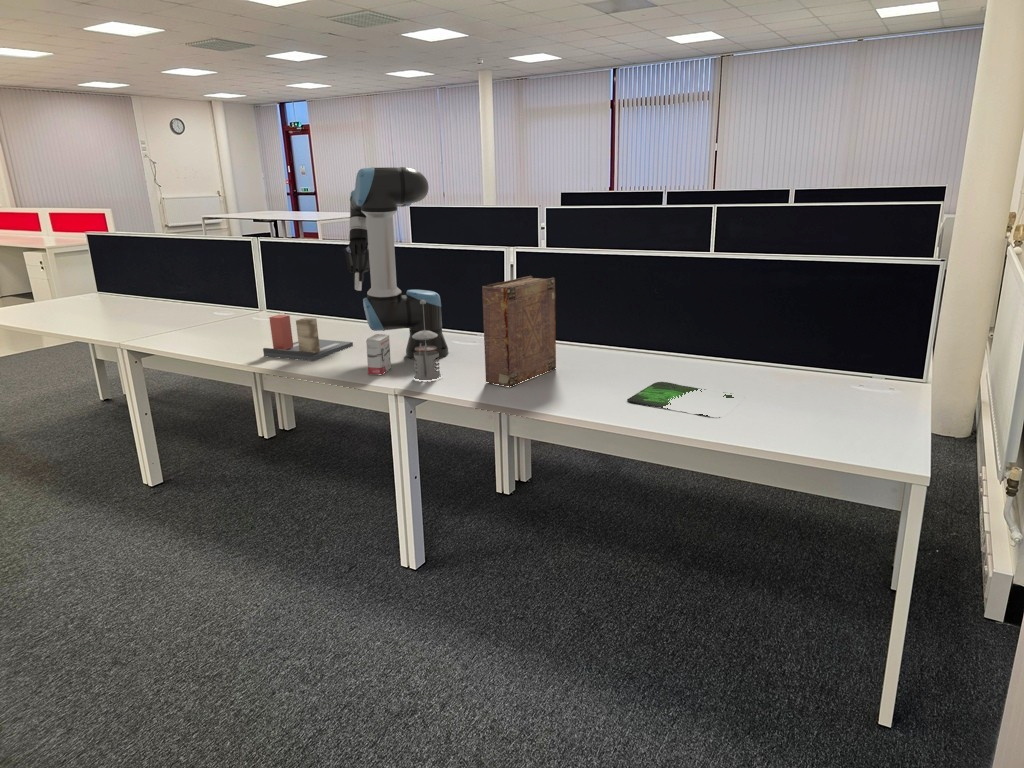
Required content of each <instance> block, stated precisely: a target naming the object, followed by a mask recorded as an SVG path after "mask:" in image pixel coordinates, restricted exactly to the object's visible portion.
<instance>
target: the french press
mask: <svg viewBox="0 0 1024 768" xmlns="http://www.w3.org/2000/svg"><path fill="white" fill-rule="evenodd" d="M420 304H426V301H425V300H421V301H420ZM423 316H424V305H423ZM437 336H438V334H436V333H434V332H432V331H426V330H425V321H424V330H423V331H419V332H417V333H415V334H414V335H413V336H412V338H413V339H416V340H425V346H421V343H420V346H419V347H416V348H415V351H417V352H415V353H414V358H415V359H413V361H414V363H413V364H414V376H413V377H414V378H415V379H419V380H432V379H437V378H439V377H441V375H442V374H441V372H440V358H438V357H439V353H438V351H435V350H436V349H437V347H436V346H427V344H426V340H429V339H433V338H436V337H437ZM435 358H437V359H435Z"/></svg>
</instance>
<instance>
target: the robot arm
mask: <svg viewBox="0 0 1024 768" xmlns="http://www.w3.org/2000/svg"><path fill="white" fill-rule="evenodd" d="M429 187H430V186H429V182H428V180H427V178H426V176H425V175H424V174H423V173H422V172H420V171H418V170H417V169H415V168H410V167H407V166H405V167H404V166H400V167H397V166H396V167H394V166H393V167H392V166H391V167H389V166H388V167H385V166H384V167H374V166H372V167H366V168H365V167H364V168H363V167H362V168H360V169H359V170H358V171H357V173H356V177H355V185H354V189H353V190H351V192H350V196H349V236H348V237H349V243H348V246H347V247H344V248H342V251H343V253H344V255H345V259H346V264H347V265H346V266H347V270H348V272H350V273H353V274H352V280H353V282H354V290H356V291H357V292H359V291H360V292H361V291H362V288H363V287H362V286H363V282H364V281H365V280H364V279H365V273H368V272H369V271H370V272H369V274H370V275H369V276H370V288H369V289H368V291H367V293H366V295H367V297H364V298H363V299H362V301H363V302H362V304H363V309H364V313H365V318H366V322H367V325H368V327H369V328H370V330H372V331H374V332H375V331H376V332H380V331H383V332H385V331H391V330H392V331H393V330H401V329H403V330H404V329H409V337H408V341H407V345H406V347H405V348H406V349H405V356H406V357H407V358H408V357H409V359H411V358H414V353H415V352H417V351H415V348H416V347H419V346H420V343H421V346H425V340H416V339H413V338H412V336H413V335H414V334H415V333H417V332H419V331H423V330H424V321H425V330H426V331H432V332H434V333H436V334H438V336H437V337H436V338H433V339H429V340H426V344H427V346H436V347H437V349H436V350H435V351H438V353H439V357H438V358H437V359H441V358H444V357H446V356H448V355H449V347H448V344H447V341H446V339H445V336H444V334H443V322H442V321H443V320H442V302H441V296H440V294H439V293H437V292H435V291H433V290H426V289H407V290H406V294H402V293H403V292H402V290H401V289H400V288H399V287H398V285H397V269H396V254H395V253H396V252H395V232H394V215H395V214H396V213H397V211H398V208H399V207H401V208H404V207H410V206H411V205H412V204H414V203H418V202H420V201H421V202H422V200H425V198H426V197H427V195H428V193H429V189H430V188H429ZM351 253H352V254H351ZM421 300H425V301H426V304H420V301H421ZM423 305H424V316H423ZM447 354H448V355H447ZM443 356H444V357H443ZM440 357H441V358H440ZM414 359H415V358H414ZM414 359H413V360H414ZM415 360H416V359H415Z"/></svg>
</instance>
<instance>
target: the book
mask: <svg viewBox="0 0 1024 768" xmlns="http://www.w3.org/2000/svg"><path fill="white" fill-rule="evenodd" d="M481 290H482V291H481V293H482V314H483V317H482V319H483V337H484V338H483V339H484V342H483V343H484V344H483V345H484V366H485V368H484V369H485V370H484V371H485V372H484V373H485V383H486V382H489V383H494V384H499V385H504V386H509V387H510V386H513V385H515V384H518V383H520V382H522V381H525V380H527V379H530V378H532V377H535V376H537V375H540V374H543V373H545V372H547V371H550V370H553V369H555V368H556V369H557V353H556V352H557V351H556V350H557V349H556V348H557V346H556V345H557V343H556V340H557V337H556V335H557V334H556V330H557V329H556V328H557V327H556V324H557V323H556V278H555V277H551V278H541V277H540V278H539V277H537V278H536V277H533V276H532V275H529V276H523V277H519V278H514V279H509V280H506V281H501V282H496V283H490V284H487V285H482V289H481ZM556 369H555V370H556ZM553 371H554V370H553ZM550 372H551V371H550ZM545 374H546V373H545ZM543 375H544V374H543ZM518 385H519V384H518Z"/></svg>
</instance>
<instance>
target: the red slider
mask: <svg viewBox="0 0 1024 768" xmlns="http://www.w3.org/2000/svg"><path fill="white" fill-rule="evenodd" d="M269 325H270V334H271V340H272V347H273V348H272V349H283V350H286V349H289V348H292V347H293V343H294V340H293V332H292V324H291V316H290V315H289V314H276V315H273V316H270V317H269Z"/></svg>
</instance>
